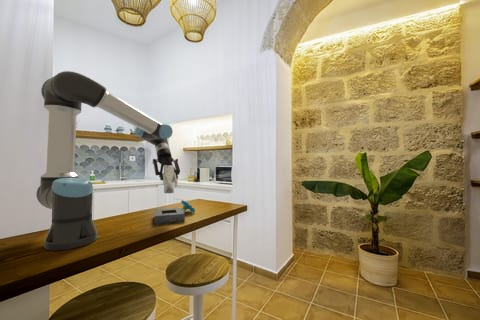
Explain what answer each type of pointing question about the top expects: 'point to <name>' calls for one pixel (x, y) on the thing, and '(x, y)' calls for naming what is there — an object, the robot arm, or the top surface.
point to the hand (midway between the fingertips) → (170, 184)
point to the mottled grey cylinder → (169, 179)
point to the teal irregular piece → (187, 206)
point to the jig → (169, 216)
